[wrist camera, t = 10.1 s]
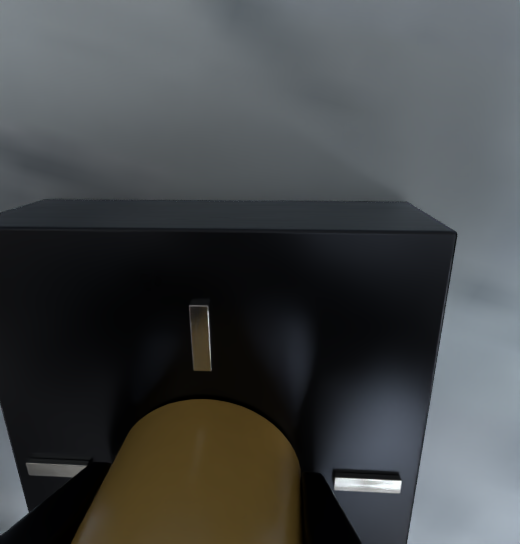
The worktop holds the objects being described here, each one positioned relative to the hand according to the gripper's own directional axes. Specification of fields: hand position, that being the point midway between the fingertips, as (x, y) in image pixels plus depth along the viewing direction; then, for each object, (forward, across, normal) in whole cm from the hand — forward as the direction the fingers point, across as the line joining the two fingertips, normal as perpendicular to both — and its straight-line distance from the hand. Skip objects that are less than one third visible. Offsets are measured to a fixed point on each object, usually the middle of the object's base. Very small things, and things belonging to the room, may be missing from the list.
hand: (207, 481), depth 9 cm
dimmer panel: (+3, 0, 0) cm, 3 cm away
